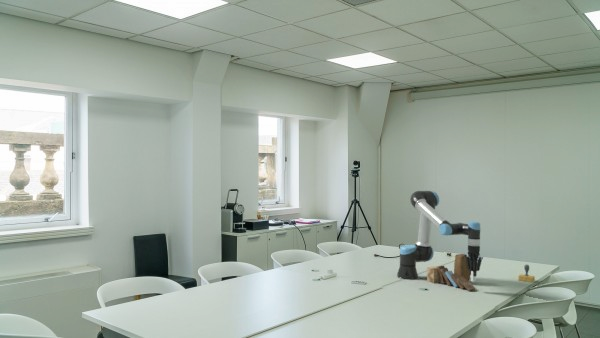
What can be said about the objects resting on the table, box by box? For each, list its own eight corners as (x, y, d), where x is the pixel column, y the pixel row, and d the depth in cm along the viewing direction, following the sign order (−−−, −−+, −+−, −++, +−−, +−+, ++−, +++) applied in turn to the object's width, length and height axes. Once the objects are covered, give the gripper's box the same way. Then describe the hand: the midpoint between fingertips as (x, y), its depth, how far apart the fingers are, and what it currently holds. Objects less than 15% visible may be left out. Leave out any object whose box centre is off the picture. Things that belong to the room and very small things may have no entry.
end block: (427, 281, 330) (427, 267, 330) (438, 279, 337) (438, 265, 337) (433, 283, 325) (433, 269, 325) (445, 281, 332) (445, 267, 332)
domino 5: (469, 291, 304) (456, 279, 313) (474, 290, 307) (461, 278, 316) (470, 288, 303) (457, 276, 312) (475, 288, 306) (462, 276, 315)
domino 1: (441, 283, 324) (436, 266, 328) (446, 283, 326) (441, 266, 330) (443, 283, 322) (439, 266, 326) (448, 282, 325) (444, 265, 328)
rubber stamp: (534, 281, 339) (535, 264, 339) (533, 282, 334) (533, 266, 335) (520, 279, 345) (520, 263, 345) (518, 280, 341) (518, 264, 341)
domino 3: (455, 287, 314) (444, 273, 322) (459, 286, 317) (449, 272, 324) (456, 285, 313) (446, 271, 320) (461, 284, 315) (451, 270, 323)
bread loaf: (460, 284, 324) (461, 255, 324) (452, 281, 331) (453, 253, 331) (471, 282, 329) (472, 254, 329) (463, 280, 336) (464, 253, 336)
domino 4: (461, 289, 309) (450, 276, 318) (466, 288, 312) (454, 275, 320) (463, 287, 308) (451, 274, 317) (468, 286, 311) (456, 273, 319)
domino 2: (448, 285, 319) (440, 269, 325) (453, 284, 321) (445, 269, 328) (450, 284, 317) (442, 268, 324) (455, 283, 320) (447, 267, 326)
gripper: (462, 244, 308) (461, 279, 308) (478, 247, 297) (478, 283, 297) (469, 243, 312) (468, 278, 312) (486, 246, 301) (485, 282, 301)
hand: (473, 280), depth 305 cm, fingers closed
